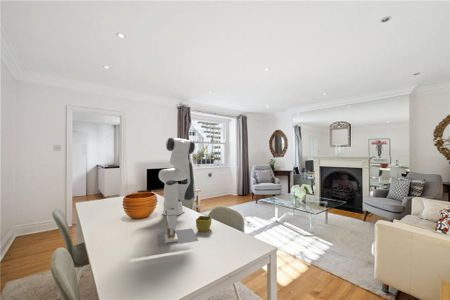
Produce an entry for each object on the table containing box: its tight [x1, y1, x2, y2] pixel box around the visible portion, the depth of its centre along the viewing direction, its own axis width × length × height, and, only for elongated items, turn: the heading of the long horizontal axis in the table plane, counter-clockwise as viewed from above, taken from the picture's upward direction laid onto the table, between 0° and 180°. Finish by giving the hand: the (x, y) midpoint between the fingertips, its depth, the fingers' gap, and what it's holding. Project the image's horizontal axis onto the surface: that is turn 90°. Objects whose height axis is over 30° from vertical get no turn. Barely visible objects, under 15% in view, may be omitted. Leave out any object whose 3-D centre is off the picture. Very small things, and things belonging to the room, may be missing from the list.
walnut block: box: [166, 228, 176, 238], centre depth 118 cm, size 4×4×4 cm
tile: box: [165, 233, 178, 243], centre depth 117 cm, size 2×7×8 cm
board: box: [157, 227, 199, 247], centre depth 121 cm, size 20×22×1 cm
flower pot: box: [195, 215, 213, 233], centre depth 132 cm, size 9×9×9 cm
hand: (170, 231), depth 118 cm, fingers open, 8 cm apart
